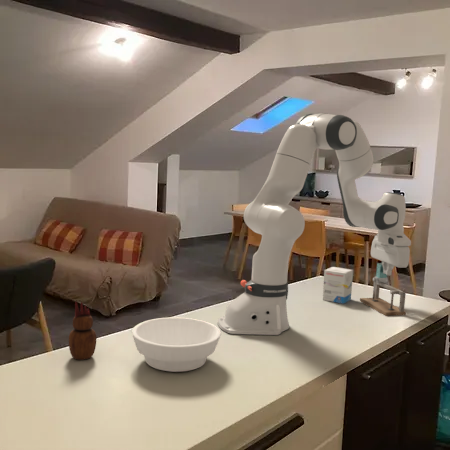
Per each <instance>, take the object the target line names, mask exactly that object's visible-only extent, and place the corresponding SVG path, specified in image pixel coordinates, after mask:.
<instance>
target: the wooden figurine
mask: <svg viewBox="0 0 450 450" xmlns="http://www.w3.org/2000/svg"><path fill="white" fill-rule="evenodd" d="M83 305H84V303H83V302H82V301H81V302H80V307H79V305H78V301H75V302H74V317H73V318H72V328H73V329H72V330H71V331H70V332H69V335H68V348H69V349H68V350H69V352H70V355H71V357H72V358H73V359H74V360H80V361H81V360H82V361H84V360H88V359H91V358H92V357H93V356H94V354H95V351H96V347H97V333H96V331H95V330H94V329H93V328H92V327H93V325H94V319H93V317H92V315H91V311H90V308H87V305H84V306H83Z"/></svg>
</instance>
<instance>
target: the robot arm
mask: <svg viewBox="0 0 450 450" xmlns="http://www.w3.org/2000/svg"><path fill="white" fill-rule="evenodd" d="M317 149H319V150H326V151H327V150H328V151H331V150H333V151H334V150H335V155H336V157H337V160H338V163H339V164H338V166H337V170H336V178H337V183H338V189H339V192H340V198H341V202H342V209H343V211H342V212H343V213H342V215H343V218H344V221H345V223H346V225H348V226H349V227H352V228H362V229H369V230H375V231H377V233H376V234H375V235H374V238H373V240H372V242H371V247H370V248H371V249H370V256H371V258H373V259H375V260H379V261H381V263H382V266H383V274H386V275H387V276H392V272H393V269H394V268H395V267H396V268H400V269H401V268H405V269H406V268H407V267H408V266H409V264H410V253H411V251H410V246H412V240H411V239H410V238H409V237H408V236H407V235H406V234H405V233H404V232H405V228H404V222H405V220H406V211H407V210H406V208H407V207H406V198H405V196H404V195H403V194H400V193H395V192H389V191H388V192H384V193H383V194H382V197H381V198H380V199H378V200H376V201H368V200H364V199H362V198H360V197H359V193H358V189H357V185H356V180H358V179H360V178H362V177H364V176H365V175H366V174H367V173H369V171H370V170H371V169H372V167H373V165H374V154H373V150H372V148H371V145H370V142H369V139H368V136H367V135H366V133H365V131H364V129H363V127H362V126H361V125H360V123H359V121H357V120H353V119H352V118H350V117H348V116H346V115H342V114H331V113H323V112H322V113H309V114H305V115H303V116H301V117H299V118H298V120H297V121H296V122H295V124H292V125H291V126H289V127H288V128H287V130H286V131H285V133H284V135H283V137H282V138H281V141H280V144H279V146H278V148H277V151H276V153H275V156H274V159H273V162H272V165H271V168H270V170H269V173H268V176H267V178H266V180H265V182H264V184H263V186H262V187H261V189H260V190H259V192H258V193H257V195H256V196H255V198H254V199H253V201H251V202H250V203H249V204H248V205H247V206H246V207H245V209H244V212H243V220H244V223H245V225H246V227H248V228H249V229H250V230H252V232H253V233H256V234H258V235H261V240H260V243H259V246H258V249H257V251H255V253H253V256H252V262H251V263H252V265H251V279H250V280H249V281H247V280H246V279H242V280H241V281H240V286H242V287H243V288H244V292H243V293H241V294H240V295H238V296H237V297H236V298H234V299H233V300H231V301H230V302H229V303H228V304H227V305H226V309H225V313H224V316H220V317H219V318H217V323H216V324H217V327H218V328H219V329H220V330H222V331H223V332H225V333H228V334H230V335H263V336H264V335H265V336H266V335H267V336H278V335H280V334H281V333H282V332H284V331H287V330H288V329H290V324H289V323H290V322H289V318H288V309H287V300H288V295H289V282H288V270H289V260H290V256H291V252H292V249H293V246H294V244H295V243H296V241H297V239H299V238H300V237H301V235H303V232H304V230H305V225H306V221H305V217H304V215H303V214H302V212H301V211H300V210H298V209H297V208H296V207H293V206H292V205H290V203H291V201H292V199H293V198H295V196H297V194H299V193H300V192H301V191H302V189H303V188H304V186H305V183H306V180H307V176H308V174H309V171H310V169H311V168H310V167H311V166H312V165H311V164H312V161H313V158H314V154H315V152H316V150H317Z"/></svg>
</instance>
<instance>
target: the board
mask: <svg viewBox="0 0 450 450" xmlns="http://www.w3.org/2000/svg"><path fill="white" fill-rule="evenodd" d="M380 287H382V288H384V289H386V290H388V291H390V295H391V297H390V302H389V301H386V300H384V299H382V298H380ZM406 294H407V293H406V292H405V291H403V290H402V289H401V290H400V289H398V288H397V287H394V286H392V285H389V284H387V282H377V281H376V287H375V298H374V299H372V298H373V297H360V298H359V302H360V301H361V303H362V302H363V303H362V304H364V305H366V306H367V305H368V306H367V307H369V306H370V307H369V308H371V309H373V310H374V311H376V312H378V313H380V314H381V315H383V316H385V317H389V316H390V317H391V316H393V317H394V316H406V315H407V311H406V310H405V305H406V303H405V302H406ZM394 295H399V304H398V305H399V307H398V306H396V305H394V297H395V296H394Z"/></svg>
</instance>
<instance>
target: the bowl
mask: <svg viewBox="0 0 450 450" xmlns="http://www.w3.org/2000/svg"><path fill="white" fill-rule="evenodd" d="M131 330H132V331H131V333H132V338H133V341H134V345H135V347H136V350H137V351H138V352H139V353H140V354H141V355H143V357H144V360H145V362H146V364H147V365H148V366H150V367H152V368H154V369H156V370H159V371H160V370H161V371H166V372H176V373H177V372H188V371H192V370H196V369H199V368H201V367H202V366H204V365H205V364H206V361H207V359H208V357H209V356H211V355H213V353H214V352H215V351H216V347H217V345H218V344H219V340H220V338H221V335H222V331H221V328H220V327H219V326H216V324H213V323H211V322H208V321H205V320H201V319H195V318H191V317H177V316H175V317H174V316H173V317H172V316H171V317H160V318H158V317H157V318H153V319H148V320H144V321H143V322H140V323H138V324H136V325H135V326H133V328H132V329H131Z"/></svg>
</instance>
